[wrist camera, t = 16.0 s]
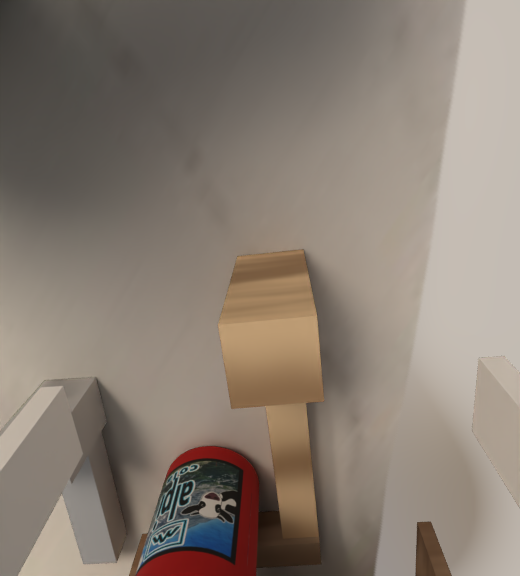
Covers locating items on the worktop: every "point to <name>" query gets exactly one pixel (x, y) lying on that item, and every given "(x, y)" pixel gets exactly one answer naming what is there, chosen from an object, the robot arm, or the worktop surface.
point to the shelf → (428, 553)
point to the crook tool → (277, 389)
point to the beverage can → (204, 517)
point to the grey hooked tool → (90, 476)
